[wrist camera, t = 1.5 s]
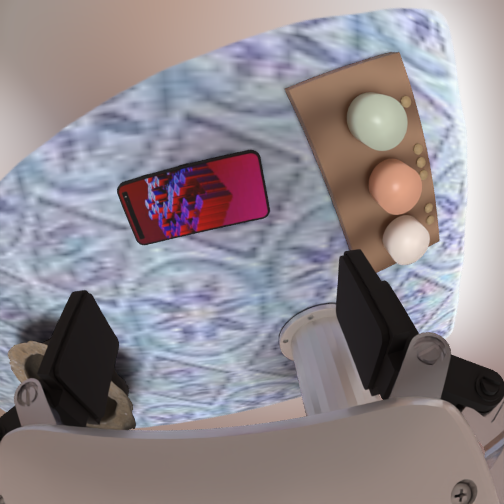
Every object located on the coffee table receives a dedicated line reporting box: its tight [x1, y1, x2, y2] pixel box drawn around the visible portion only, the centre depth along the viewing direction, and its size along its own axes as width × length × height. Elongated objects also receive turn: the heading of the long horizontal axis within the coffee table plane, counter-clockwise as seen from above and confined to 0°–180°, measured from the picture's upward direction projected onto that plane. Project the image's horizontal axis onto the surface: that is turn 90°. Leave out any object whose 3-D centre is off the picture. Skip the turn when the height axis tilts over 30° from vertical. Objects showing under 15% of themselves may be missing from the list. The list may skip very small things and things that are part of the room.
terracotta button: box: [369, 159, 422, 215], centre depth 27 cm, size 5×5×2 cm
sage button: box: [347, 92, 407, 151], centre depth 23 cm, size 5×5×2 cm
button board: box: [285, 52, 439, 273], centre depth 30 cm, size 24×12×2 cm, turn 26°
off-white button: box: [383, 215, 430, 265], centre depth 31 cm, size 5×5×2 cm
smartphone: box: [117, 150, 270, 245], centre depth 31 cm, size 8×1×15 cm
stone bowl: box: [8, 339, 136, 430], centre depth 42 cm, size 25×25×9 cm
